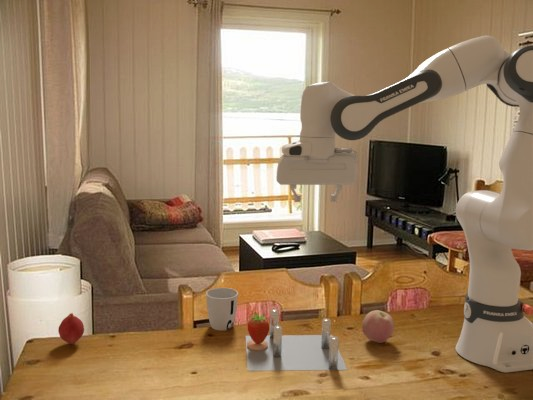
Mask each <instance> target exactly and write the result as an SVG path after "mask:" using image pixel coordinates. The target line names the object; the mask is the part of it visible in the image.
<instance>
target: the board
mask: <svg viewBox="0 0 533 400" xmlns="http://www.w3.org/2000/svg"><path fill="white" fill-rule="evenodd" d="M332 336H334V335H333V334H330V337H332ZM250 340H252V338H251V337H250V335H245V349H246V350H245V351H246V364H247V366H246V368H247V372H257V371H258V372H268V371H269V372H273V371H274V372H275V371H277V372H278V371H281V372H282V371H283V372H284V371H285V372H286V371H287V372H288V371H291V372H292V371H293V372H294V371H332V370H331V369H329V368H328V367H329V349H322V348H321V342H322V334H304V335H303V334H299V335H298V334H297V335H294V334H291V335H289V334H288V335H287V334H284V335H283V334H282V350H281V357H279V358H275V357H273V339H272V338H270V334H268V335H267V336H266V338H265V340H264V341H266V342H267V343H268V348H267V349H265V350H262V351H253V350H250V349H248V348H247V342H248V341H250ZM335 371H348V369H347V366H346V363H345V360H344V359H343V356H342V355H341V351H340V349H339V348H338V368H337V369H336V370H335Z"/></svg>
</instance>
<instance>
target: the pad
mask: <svg viewBox="0 0 533 400" xmlns="http://www.w3.org/2000/svg"><path fill="white" fill-rule="evenodd" d="M247 348H248V349H250V350H253V351H262V350H265V349H267V348H268V343H267V342H266V341H263V342H262V343H260V344H257V343H255V342H254V341H253V340H250V341H248V342H247Z"/></svg>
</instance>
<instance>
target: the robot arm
mask: <svg viewBox="0 0 533 400" xmlns="http://www.w3.org/2000/svg"><path fill="white" fill-rule="evenodd" d="M481 85H486V87H487V88H488V89H489V90H490V91H491V92H492V93H493V95H495V97H497V99H498V100H499V101H500V102H502V103H503V104H504V105H506V106H509V107H513V108H515V107H516V108H519V116H518V120H517V122H516V124H515V125H514V128H513V130H512V133H511V134H510V137H509V139H508V141H507V143H506V146H505V147H504V150H503V152H502V154H501V156H500V158H499V162H498V166H499V169H500V171H501V173H502V176H503V177H502V178H503V179H502V180H503V181H502V187H501V191H500V193H499V192H496V191H493V190H485V189H483V190H482V189H481V190H471V191H468V192H466V193H464V194H463V195H462V196H461V197H460V198H459V200H458V202H457V203H456V208H455V216H456V219H457V221H458V222H459V224H460V226H461V228H462V230H463V233H464V234H463V235H464V237H465V241H466V245H467V250H468V251H467V252H468V257H469V277H468V288H467V289H468V290H467V292H466V294H465V300H464V307H463V317H464V318H463V323H462V329H461V331H460V335H459V338H458V340H457V342H456V345H455V351H456V353H457V354H458V355H459V356H461V358H463V359H465V360H466V361H467V360H468V361H469V362H472V363H475V364H477V365H480V366H484V367H488V368H491V369H494V370H495V371H498V372H501V373H512V372H513V373H514V372H522V371H529V370H533V322H532V321H531V320H529V318H527V317H526V316H525V314H526V315H527V316H531V315H533V307H532V306H530V304H525V303H524V302H523V301H521V300H520V299H519V293H520V286H521V275H522V271H521V267H520V264H519V263H518V262H517V260H516V258H515V257H514V254H513V250H512V249H514V250H521V251H533V44H532V45H531V44H530V45H525V46H522V47H520V48H518V49H516V50H515V51H513V52H512V53H508V52H507V51H506V50H505V48H504V47H503V45H502V43H501V42H500V41H499V40H498V38H496V37H494V36H492V35H488V34H487V35H481V36H478V37H474V38H470V39H467V40H464V41H461V42H459V43H456V44H454V45H451V46H449V47H447V48H445V49H442V50H441V51H439V52H436V53H435V54H433V55H432V56H430V57H429V58H427V59H426V60H425V61H423V62H422V63H420V64H419V65H418V66H417V68H416V69H415V70H414V71H413V72H412V73H410V74H409V75H408V76H407V77H406V78H404V79H402V80H400V81H398V82H396V83H394V84H391V85H389V86H387V87H385V88H383V89H381V90H379V91H376V92H374V93H370V94H366V95H356V94H353V93H350V92H348V91H347V90H344V89H342V88H340V87H339V86H337V85H336V84H335V83H334V82H333V81H325V82H317V83H314V84H313V83H312V84H309V85H308V86H306V87H305V88H304V89H303V92H302V95H301V101H300V103H301V104H300V117H299V118H300V122H301V131H300V133H299V140H296V141H293V142H291V143H288V144H284V145H283V146H282V148H281V153H282V155H281V156H280V157H279V159H278V162H277V163H278V164H277V168H276V169H277V170H276V177H275V178H276V181H277V183H278V184H279V185H282V186H287V185H288V186H289V188H290V190H291V192H292V195H293V200H294V201H293V202H294V203H301V201H302V200H301V198H302V197H301V194H298V193H297V192H296V189H297V185H298V186H302V185H303V186H305V185H306V186H310V185H311V186H312V185H313V186H315V185H316V186H317V185H318V186H321V185H322V186H323V185H324V186H326V185H327V186H328V185H329V186H330V185H332V186H335V187H334V188H335V191H334V192H333V194H332V193H331V194H330V199H329V200H330V203H338V196H339V194H340V193H341V192H342V190H343V186H353V185H354V184H355V183H357V168H356V165H357V163H358V153H357V151H356V150H354V149H352V148H351V147H346V148H342V147H336V135H337V136H339V137H340V138H341V139H344V140H347V141H357V140H361V139H363V138H365V137H367V136H368V135H369V134H370V133H371V132H372V131H373V129H375V127H376V126H377V125H378V124H379V123H380V122H382V121H383V120H385V119H387V118H389V117H391V116H393V115H396V114H398V113H400V112H402V111H404V110H407V109H409V108H411V107H413V106H415V105H418V104H423V103H429V102H435V101H441V100H445V99H449V98H451V97H455V96H457V95H460V94H463V93H465V92H467V91H469V90H471V89H473V88H476V87H478V86H481ZM524 313H525V314H524Z"/></svg>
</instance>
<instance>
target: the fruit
mask: <svg viewBox="0 0 533 400" xmlns="http://www.w3.org/2000/svg"><path fill="white" fill-rule="evenodd" d="M253 314H254V316H251V315H248V318H249V320H248V321H247V332H248V335H249V336H250V337H251V338H252V340H253V341H254V342H255V343H257V344H260V343H262V342H263V341H264V340H265V338H266V336H267V335H269V333H270V322H269V321H268V319H267V318H265V316H266V315H265V312H264V313H263V314H261V315H260V314H259V312H257V311H254V313H253ZM259 315H260V316H259Z"/></svg>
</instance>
